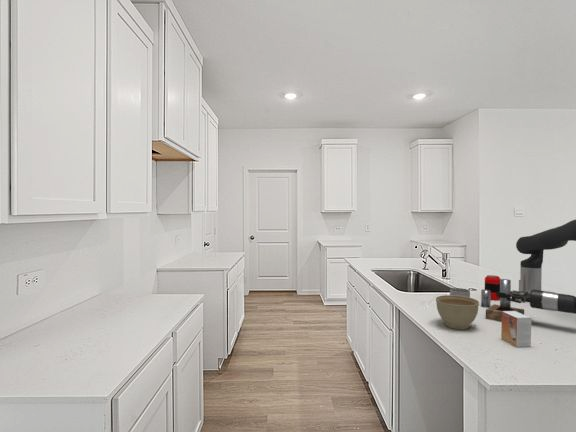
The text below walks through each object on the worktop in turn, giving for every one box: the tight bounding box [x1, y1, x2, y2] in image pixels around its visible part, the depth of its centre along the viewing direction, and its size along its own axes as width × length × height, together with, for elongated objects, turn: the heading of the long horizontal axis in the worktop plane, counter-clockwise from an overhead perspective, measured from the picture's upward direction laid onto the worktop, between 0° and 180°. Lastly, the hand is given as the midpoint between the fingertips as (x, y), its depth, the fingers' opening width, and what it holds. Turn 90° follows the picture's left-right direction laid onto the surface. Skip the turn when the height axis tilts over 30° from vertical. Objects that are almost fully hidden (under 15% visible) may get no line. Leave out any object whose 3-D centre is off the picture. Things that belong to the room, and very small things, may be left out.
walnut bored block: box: [485, 303, 525, 323], centre depth 156 cm, size 12×12×4 cm
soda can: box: [484, 274, 501, 301], centre depth 190 cm, size 8×8×12 cm
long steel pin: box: [499, 278, 512, 311], centre depth 156 cm, size 4×4×16 cm
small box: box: [500, 311, 532, 348], centre depth 129 cm, size 8×6×10 cm
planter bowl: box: [435, 294, 480, 330], centre depth 147 cm, size 16×16×11 cm
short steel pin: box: [480, 288, 492, 309], centre depth 175 cm, size 4×4×8 cm
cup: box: [449, 287, 471, 298], centre depth 168 cm, size 8×8×10 cm
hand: (498, 293), depth 158 cm, fingers closed on long steel pin, 4 cm apart
